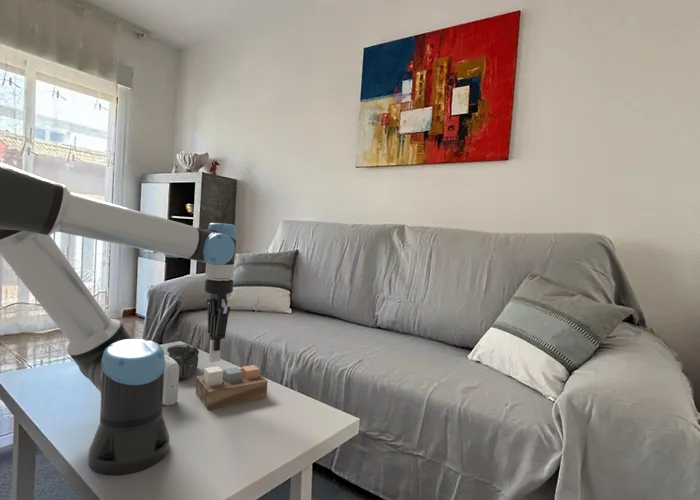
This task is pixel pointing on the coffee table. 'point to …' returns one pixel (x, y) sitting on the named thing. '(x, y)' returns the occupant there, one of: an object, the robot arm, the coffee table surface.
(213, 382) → the cream short block
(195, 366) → the camera
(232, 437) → the coffee table surface
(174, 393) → the photo printer
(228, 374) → the slate key
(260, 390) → the wooden block tray
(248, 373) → the terracotta key
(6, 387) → the coffee table surface
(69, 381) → the coffee table surface
